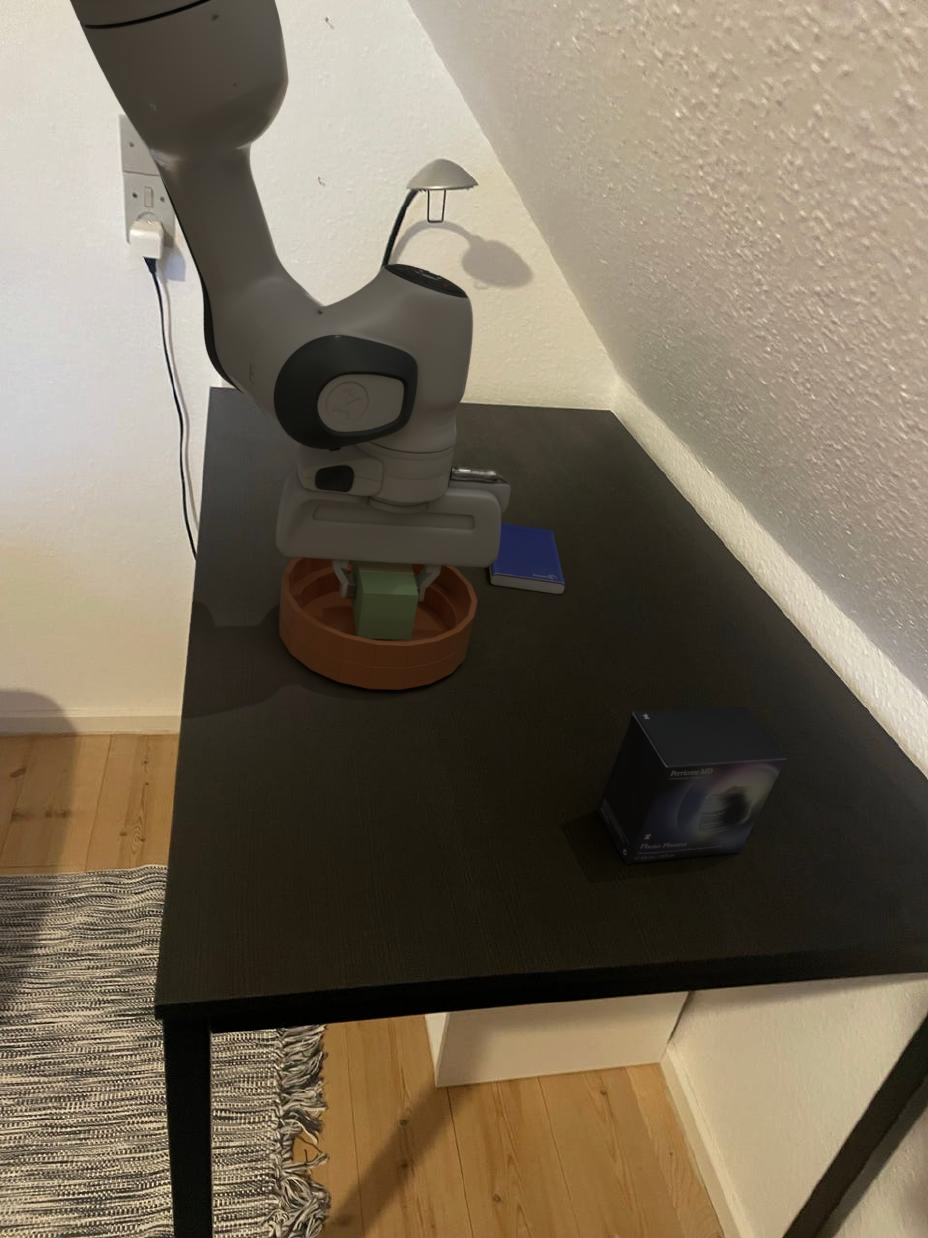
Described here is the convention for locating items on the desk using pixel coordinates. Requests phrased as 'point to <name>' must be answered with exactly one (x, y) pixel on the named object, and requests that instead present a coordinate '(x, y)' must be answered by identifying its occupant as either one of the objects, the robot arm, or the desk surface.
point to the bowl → (333, 649)
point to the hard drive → (527, 560)
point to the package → (384, 600)
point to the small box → (688, 783)
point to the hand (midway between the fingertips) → (380, 596)
